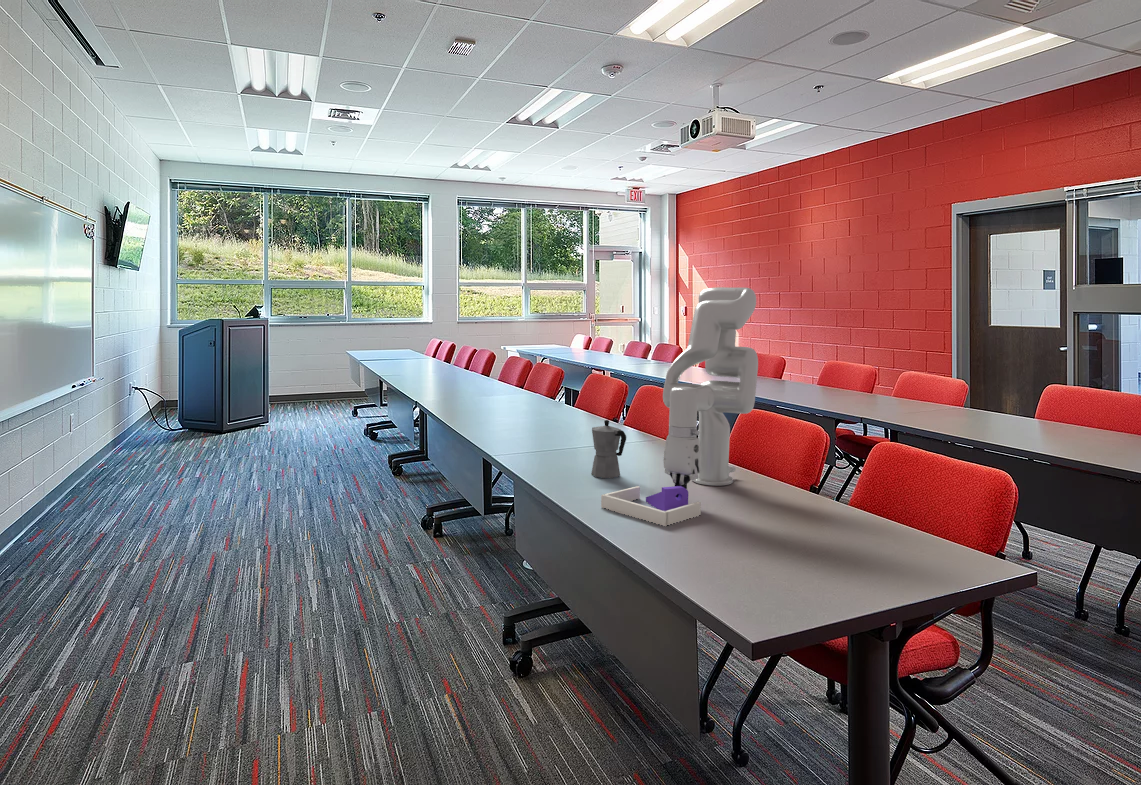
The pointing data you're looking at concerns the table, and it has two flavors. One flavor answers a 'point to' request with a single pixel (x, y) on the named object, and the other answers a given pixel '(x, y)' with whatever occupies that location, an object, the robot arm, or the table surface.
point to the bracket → (669, 498)
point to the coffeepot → (607, 450)
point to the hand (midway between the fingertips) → (680, 497)
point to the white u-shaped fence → (646, 507)
